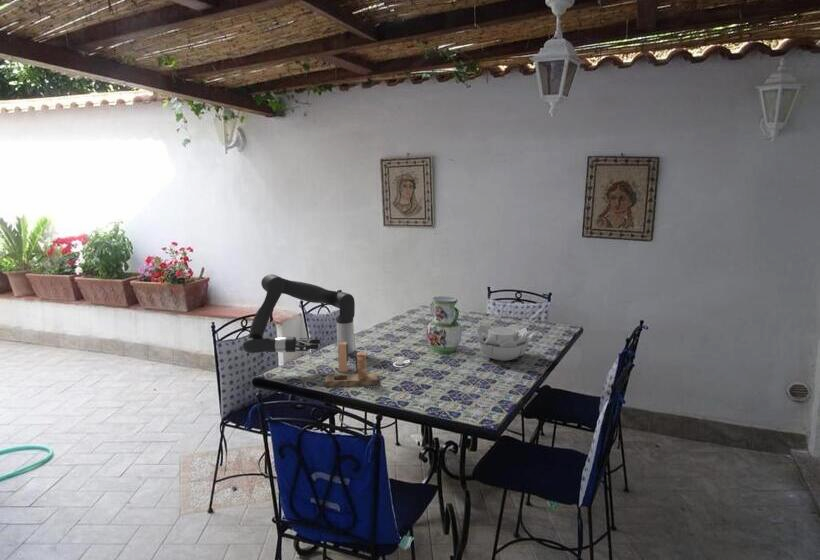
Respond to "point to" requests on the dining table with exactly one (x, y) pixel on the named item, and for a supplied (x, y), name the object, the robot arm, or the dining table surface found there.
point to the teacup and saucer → (401, 362)
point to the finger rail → (353, 375)
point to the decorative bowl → (502, 341)
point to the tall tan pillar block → (343, 356)
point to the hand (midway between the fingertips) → (319, 344)
